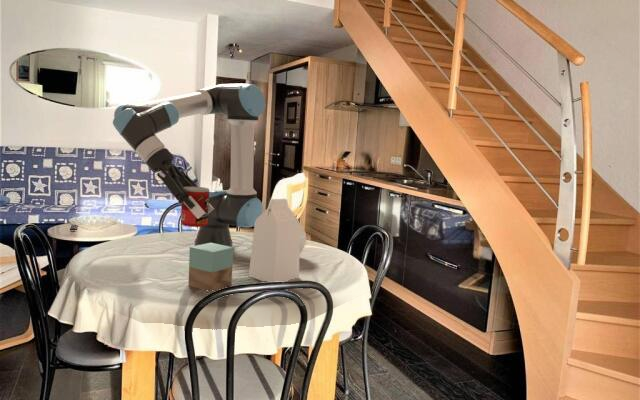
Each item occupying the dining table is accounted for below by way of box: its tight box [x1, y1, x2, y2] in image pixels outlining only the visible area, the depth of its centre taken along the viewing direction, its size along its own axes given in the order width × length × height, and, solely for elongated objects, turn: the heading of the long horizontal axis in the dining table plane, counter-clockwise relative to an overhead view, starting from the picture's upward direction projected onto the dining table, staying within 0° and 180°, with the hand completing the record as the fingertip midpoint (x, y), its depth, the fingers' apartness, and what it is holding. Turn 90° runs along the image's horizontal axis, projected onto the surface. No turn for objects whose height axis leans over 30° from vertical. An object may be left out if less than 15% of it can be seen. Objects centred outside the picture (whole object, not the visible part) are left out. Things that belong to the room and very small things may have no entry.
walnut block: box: [187, 266, 233, 292], centre depth 146 cm, size 9×9×6 cm
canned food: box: [180, 186, 210, 228], centre depth 143 cm, size 8×8×11 cm
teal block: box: [188, 243, 234, 272], centre depth 145 cm, size 9×9×6 cm
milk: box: [248, 198, 301, 282], centre depth 158 cm, size 12×12×26 cm
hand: (206, 213), depth 143 cm, fingers closed on canned food, 8 cm apart
